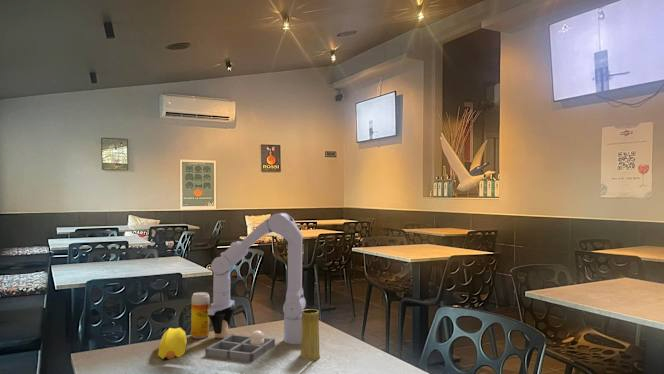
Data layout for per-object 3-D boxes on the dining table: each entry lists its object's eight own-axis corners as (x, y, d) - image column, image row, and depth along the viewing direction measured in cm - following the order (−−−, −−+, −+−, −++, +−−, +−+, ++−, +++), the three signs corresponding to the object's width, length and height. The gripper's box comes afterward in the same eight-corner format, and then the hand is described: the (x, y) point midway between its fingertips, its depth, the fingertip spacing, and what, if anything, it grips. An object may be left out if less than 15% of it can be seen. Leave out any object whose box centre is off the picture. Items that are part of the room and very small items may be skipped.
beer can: (204, 339, 163) (204, 295, 163) (187, 338, 164) (188, 295, 164) (212, 334, 169) (212, 292, 169) (196, 333, 170) (196, 291, 170)
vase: (323, 356, 146) (324, 310, 147) (312, 362, 141) (312, 314, 141) (307, 353, 150) (308, 307, 150) (296, 358, 145) (296, 311, 145)
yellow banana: (156, 363, 140) (183, 361, 142) (156, 340, 141) (184, 339, 142) (163, 344, 158) (187, 343, 160) (163, 324, 158) (187, 323, 160)
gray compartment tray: (274, 348, 154) (274, 338, 154) (252, 364, 139) (252, 354, 139) (231, 343, 159) (231, 334, 159) (205, 358, 144) (205, 348, 144)
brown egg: (230, 335, 164) (230, 318, 164) (223, 338, 160) (223, 322, 160) (219, 333, 165) (219, 317, 166) (212, 337, 161) (212, 320, 161)
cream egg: (266, 346, 153) (266, 329, 153) (260, 351, 149) (260, 333, 149) (254, 345, 154) (254, 328, 155) (247, 349, 150) (247, 331, 150)
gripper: (222, 287, 171) (222, 324, 171) (199, 295, 157) (199, 336, 157) (240, 288, 169) (239, 326, 169) (218, 296, 155) (218, 338, 155)
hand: (221, 331), depth 163 cm, fingers closed on brown egg, 4 cm apart
